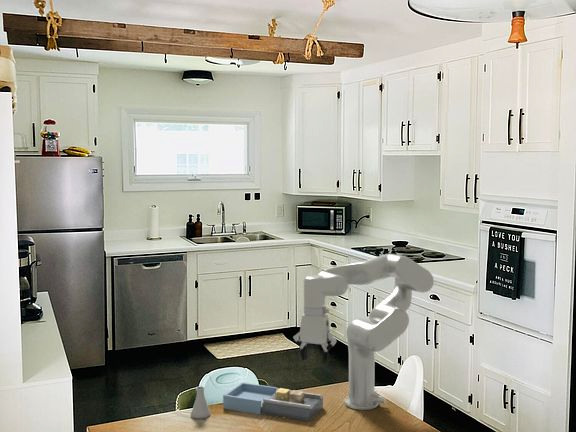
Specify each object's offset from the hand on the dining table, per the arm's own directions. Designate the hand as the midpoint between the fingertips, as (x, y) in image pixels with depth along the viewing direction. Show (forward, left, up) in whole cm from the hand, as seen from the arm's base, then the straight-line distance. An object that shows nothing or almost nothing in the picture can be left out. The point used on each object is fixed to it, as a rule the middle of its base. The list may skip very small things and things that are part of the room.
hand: (314, 360), depth 216 cm
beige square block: (+7, 0, -16) cm, 17 cm away
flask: (+38, +16, -20) cm, 45 cm away
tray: (+26, 0, -20) cm, 32 cm away
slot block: (+9, 0, -20) cm, 21 cm away
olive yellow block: (+13, 0, -16) cm, 20 cm away
